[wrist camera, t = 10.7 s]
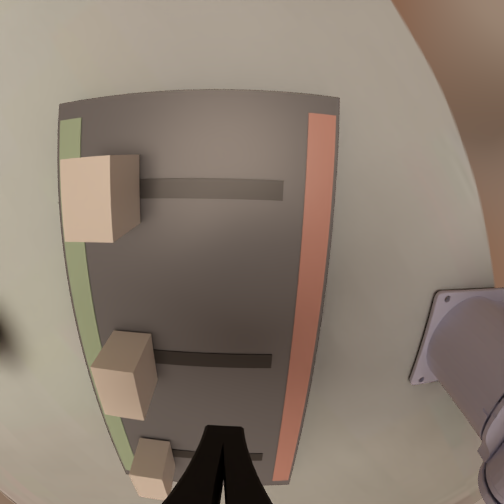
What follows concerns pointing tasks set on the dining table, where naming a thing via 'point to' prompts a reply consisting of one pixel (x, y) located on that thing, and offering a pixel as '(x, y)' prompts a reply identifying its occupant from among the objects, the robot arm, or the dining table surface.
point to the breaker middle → (125, 374)
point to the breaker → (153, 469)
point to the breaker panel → (212, 260)
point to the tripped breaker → (99, 197)
